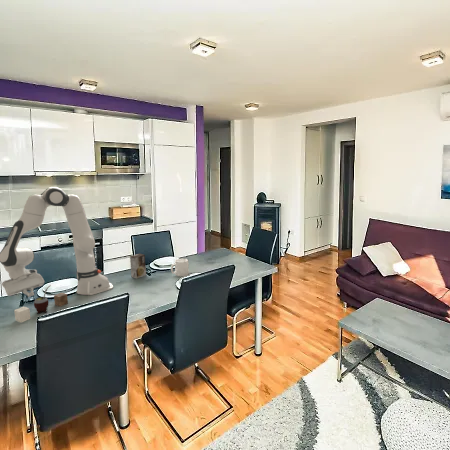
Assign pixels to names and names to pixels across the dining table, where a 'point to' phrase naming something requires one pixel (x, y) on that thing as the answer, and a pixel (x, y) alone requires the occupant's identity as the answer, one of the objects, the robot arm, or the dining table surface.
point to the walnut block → (60, 299)
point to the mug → (180, 267)
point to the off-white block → (22, 314)
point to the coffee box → (138, 265)
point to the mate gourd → (41, 303)
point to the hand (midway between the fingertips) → (31, 295)
